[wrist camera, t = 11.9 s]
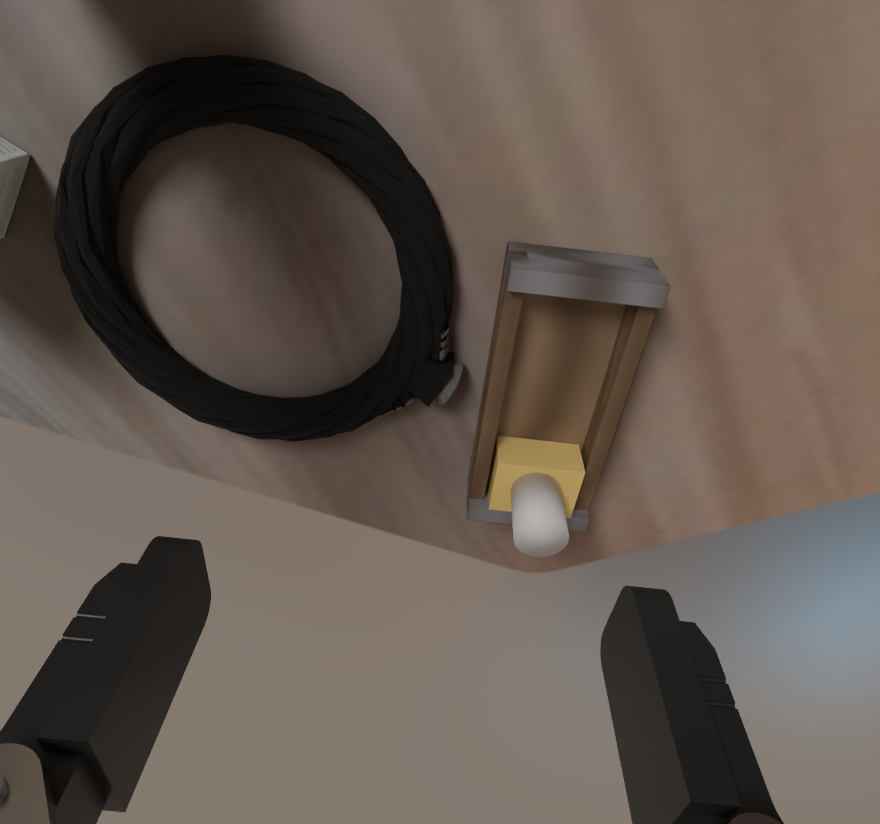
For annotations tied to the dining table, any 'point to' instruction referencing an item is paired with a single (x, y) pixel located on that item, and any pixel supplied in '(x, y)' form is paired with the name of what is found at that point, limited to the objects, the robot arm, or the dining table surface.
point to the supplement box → (10, 180)
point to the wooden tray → (562, 358)
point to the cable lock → (323, 129)
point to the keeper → (536, 490)
